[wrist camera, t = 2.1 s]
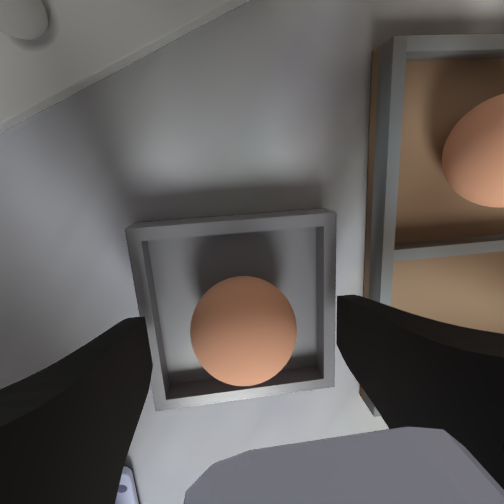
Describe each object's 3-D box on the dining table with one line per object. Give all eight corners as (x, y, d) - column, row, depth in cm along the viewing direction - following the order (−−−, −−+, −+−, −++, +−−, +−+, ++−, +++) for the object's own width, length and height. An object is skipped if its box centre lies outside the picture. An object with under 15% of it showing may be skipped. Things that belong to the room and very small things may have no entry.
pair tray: (497, 375, 17) (524, 394, 15) (359, 394, 16) (374, 416, 15) (553, 47, 13) (596, 31, 11) (372, 51, 12) (393, 35, 11)
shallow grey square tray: (323, 367, 15) (334, 386, 14) (161, 387, 15) (155, 411, 13) (323, 208, 13) (336, 212, 12) (135, 222, 13) (124, 228, 11)
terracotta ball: (285, 341, 14) (311, 404, 10) (198, 351, 14) (192, 420, 10) (282, 259, 13) (310, 294, 9) (188, 267, 13) (177, 308, 9)
